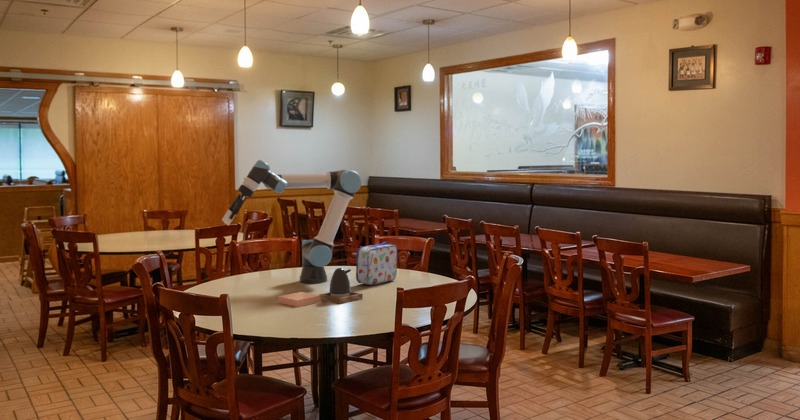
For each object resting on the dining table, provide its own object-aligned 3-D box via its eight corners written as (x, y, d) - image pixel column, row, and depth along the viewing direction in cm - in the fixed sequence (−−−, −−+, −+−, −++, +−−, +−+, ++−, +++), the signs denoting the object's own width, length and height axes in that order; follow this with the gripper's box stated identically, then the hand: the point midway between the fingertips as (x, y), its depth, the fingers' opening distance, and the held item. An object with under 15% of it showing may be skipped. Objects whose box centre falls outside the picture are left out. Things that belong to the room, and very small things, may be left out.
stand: (301, 297, 329) (301, 291, 329) (320, 301, 319) (320, 295, 319) (278, 302, 319) (278, 296, 318) (297, 306, 309) (297, 300, 309)
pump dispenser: (352, 301, 321) (351, 269, 319) (330, 302, 319) (329, 270, 318) (350, 296, 331) (349, 265, 329) (328, 297, 329) (328, 266, 328)
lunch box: (385, 278, 380) (385, 239, 379) (400, 279, 374) (400, 240, 372) (353, 285, 359) (353, 244, 357) (368, 287, 352) (368, 245, 351)
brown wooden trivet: (341, 294, 335) (341, 289, 335) (362, 298, 325) (362, 293, 325) (318, 299, 324) (318, 294, 324) (339, 304, 314) (339, 298, 314)
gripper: (239, 182, 355) (216, 216, 353) (244, 184, 332) (220, 221, 329) (251, 190, 357) (228, 224, 355) (257, 193, 334) (234, 229, 332)
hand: (224, 222), depth 342 cm, fingers open, 13 cm apart
